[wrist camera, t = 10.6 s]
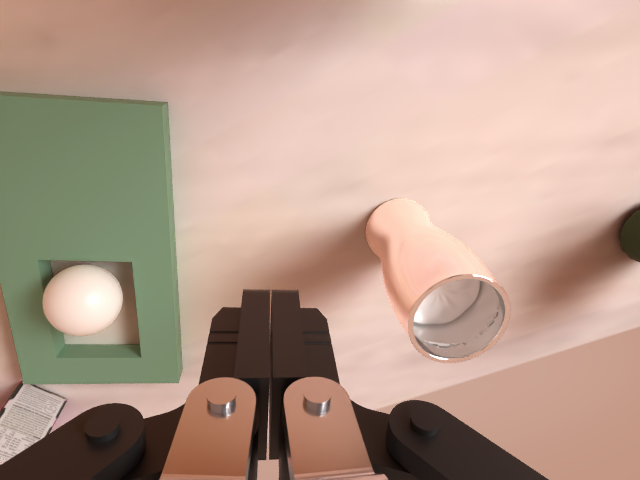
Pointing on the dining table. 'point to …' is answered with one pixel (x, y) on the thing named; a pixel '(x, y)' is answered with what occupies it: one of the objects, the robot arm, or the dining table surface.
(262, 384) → the robot arm
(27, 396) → the candy bar box
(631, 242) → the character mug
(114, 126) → the putting mat
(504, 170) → the dining table surface
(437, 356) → the beer glass
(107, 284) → the ball
